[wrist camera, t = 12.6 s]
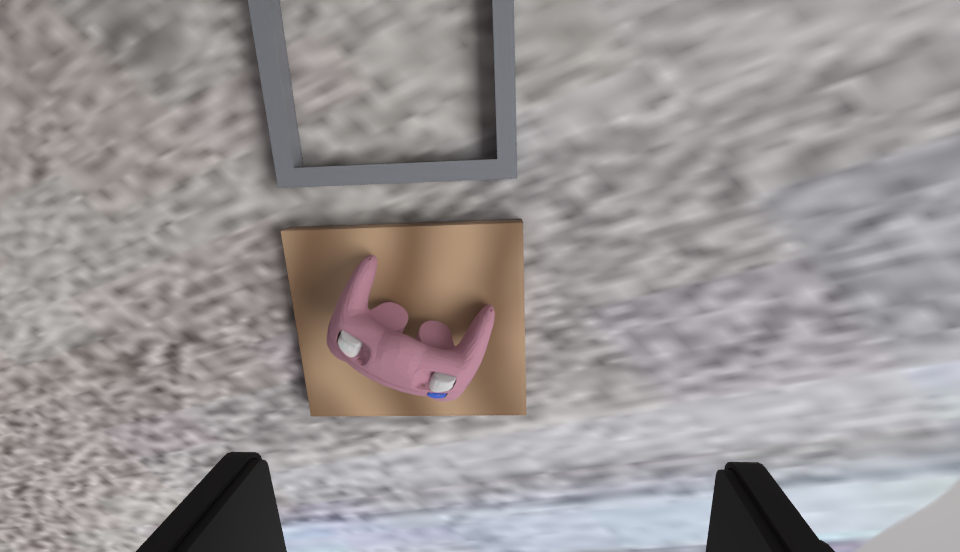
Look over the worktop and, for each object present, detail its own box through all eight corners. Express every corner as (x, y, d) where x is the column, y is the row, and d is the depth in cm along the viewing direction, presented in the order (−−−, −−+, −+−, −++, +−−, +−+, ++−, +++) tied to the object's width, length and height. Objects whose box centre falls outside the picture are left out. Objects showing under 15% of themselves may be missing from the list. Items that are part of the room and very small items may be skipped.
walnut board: (521, 219, 30) (522, 222, 29) (525, 403, 34) (526, 415, 33) (290, 227, 31) (280, 231, 30) (319, 405, 35) (311, 416, 34)
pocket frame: (510, -124, 25) (510, -141, 24) (516, 176, 30) (517, 178, 28) (244, -102, 26) (228, -116, 25) (288, 185, 31) (278, 187, 29)
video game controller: (355, 289, 32) (305, 365, 27) (365, 244, 29) (311, 320, 24) (481, 342, 33) (456, 427, 28) (504, 303, 30) (480, 390, 25)
